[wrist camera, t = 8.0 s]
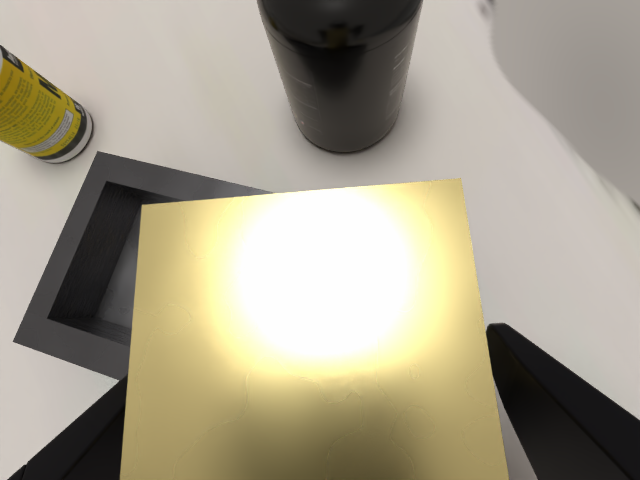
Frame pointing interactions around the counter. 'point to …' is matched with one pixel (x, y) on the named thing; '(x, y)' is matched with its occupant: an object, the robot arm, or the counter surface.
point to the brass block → (311, 340)
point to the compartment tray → (105, 262)
